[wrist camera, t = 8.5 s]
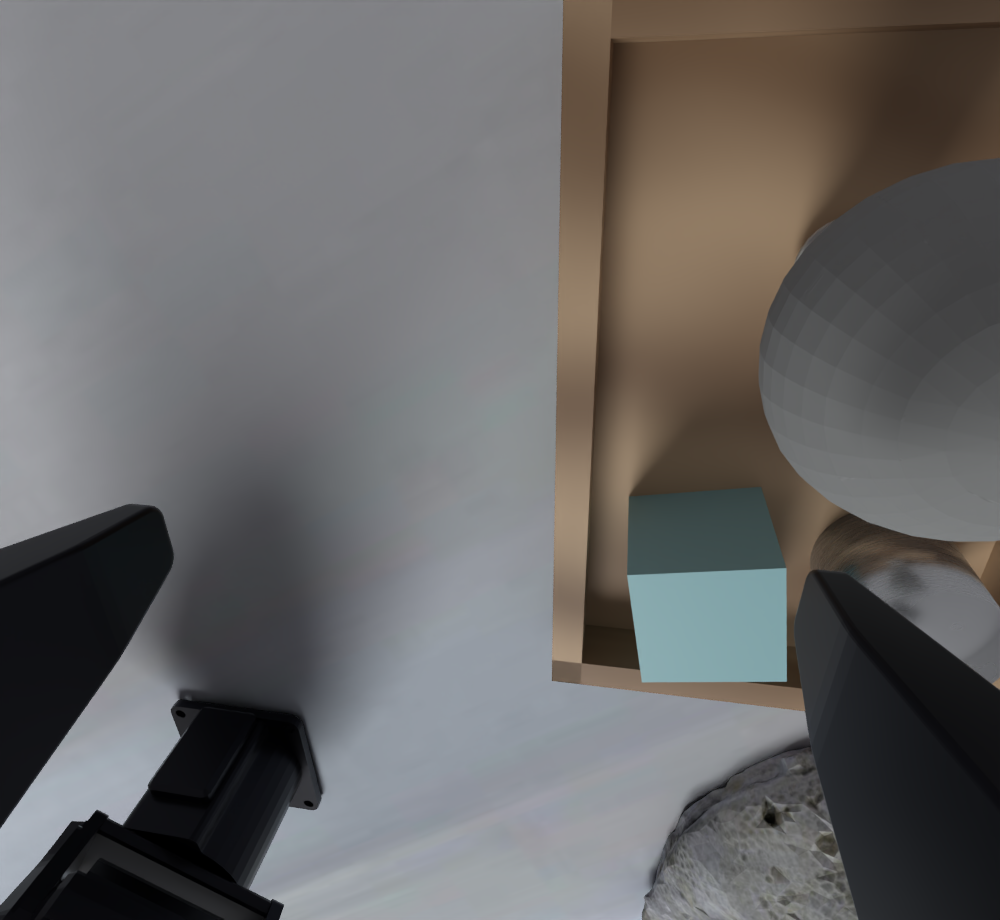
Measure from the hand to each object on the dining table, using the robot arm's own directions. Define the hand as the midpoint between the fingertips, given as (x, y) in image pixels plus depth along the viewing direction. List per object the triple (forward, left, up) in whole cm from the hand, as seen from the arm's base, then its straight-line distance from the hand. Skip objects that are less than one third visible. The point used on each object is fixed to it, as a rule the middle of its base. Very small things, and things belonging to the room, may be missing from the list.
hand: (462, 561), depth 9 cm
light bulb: (+2, -7, -12) cm, 14 cm away
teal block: (-7, -5, -11) cm, 14 cm away
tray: (-2, -7, -12) cm, 14 cm away
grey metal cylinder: (-7, -10, -11) cm, 17 cm away
